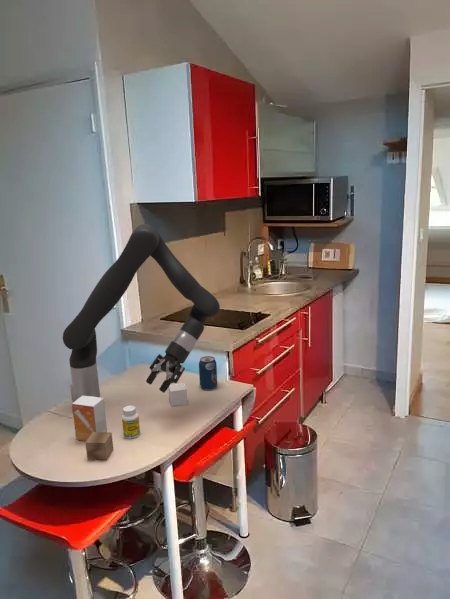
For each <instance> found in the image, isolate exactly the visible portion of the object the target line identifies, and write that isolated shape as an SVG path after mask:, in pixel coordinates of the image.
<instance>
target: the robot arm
mask: <svg viewBox="0 0 450 599" xmlns="http://www.w3.org/2000/svg"><path fill="white" fill-rule="evenodd" d="M150 257H151V258H152V259H153V260H154V261H155V262H156V263H157V264H158V265H159V267H160V268H161V270H163V272H164V274H165V276H166V277H167V279H168V280H169V281H170V283H171V284H172V285H173V287H174V288H175V289H176V290H177V291H178V292H179V294H180V295H182V296H183V297H184V299H186V300H188V301H190V302H192V303H193V305H192V307H191V309H190V311H189V313H188V316H187V319H186V320H185V322H184V323H183V324H182V326H181V327H180V328H179V331H178V332H177V333H176V334H175V335H174V336H173V339H172V340H171V341H170V343H169V344H168V346H167V347H166V349H165V351H164V353H165V355H164V356H163V355H162V354H160V353H159V354H158V355H157V356H156V357H155V358H154V360H153V361H152V363H151V364H150V366H149V369H150V373H149V375H148V376H147V378H146V380H145V382H146V383H147V384H149V385H152V384H153V382H154V381H155V380H156V378H157V376H158V375H159V374H161V373H165V375H166V377H165V379H164V381H163V382H162V383H161V385H160V387H159V388H158V389H159V391H160V392H162V393H166V391H167V390H169V388H168V387H169V386H170V385H172V384H178V382H179V380H180V378H181V377H182V374H183V373H184V372H185V369H186V368H185V367H184V366H183V365H182V364H184V363H185V362H186V360H187V359H188V357H189V356H190V354H191V352H192V350H193V349H194V348H195V346H196V343H197V341H198V340H199V339H200V337H201V335H202V333H203V332H204V330H205V326H204V324H205V322H206V321H207V319H208V318H212V317H215V316H217V314H219V312H220V309H221V308H220V307H221V306H220V302H219V301H218V299H217V298H216V297H215V296H214V294H212V293H211V292H210V291H208V290H207V289H206V288H205V287H203V286H202V285H201V284H200V282H198V281H197V279H196V278H195V277H194V276H193V274H191V273H190V271H189V270H188V269H187V268H186V267H185V266H184V265H183V264H182V263H181V261H180V260H178V258H177V257H176V256H175V255H174V254H173V252H172V251H171V249H170V248H169V247H168V245H167V244H166V242H165V241H164V239H163V238H162V236H161V234H160V233H159V231H158V230H157V229H156V228H155V227H154V226H153V225H150V224H149V223H148V224H147V223H144V224H140V225H138V226H136V227H135V229H134V230H133V231H132V233H131V235H130V236H129V238H128V240H127V243H126V244H125V247H124V248H123V250H122V252H121V253H120V255H119V257H118V258H117V259H116V261H115V262H113V264H112V265H111V266H109V268H108V269H107V270H106V271H105V272H104V274H103V275H102V276H101V278H100V279H99V280H98V282H97V283H96V285H95V287H94V288H93V290H92V291H91V293H90V295H89V296H88V298H87V299H86V301H85V303H84V304H83V307H82V308H81V310H80V311H79V313H77V315H76V316H75V317H74V318H73V320H72V321H71V322H70V323H69V324H68V325H67V326H66V327H65V329H64V331H63V332H62V342H63V344H64V346H65V347H66V348H67V349H70V350H71V353H70V357H69V360H68V361H69V367H70V368H69V369H70V376H71V384H70V386H69V387H70V394H71V395H70V396H71V402H72V403H73V402H75V401H76V400H77V399H79V398H80V397H81V396H93V397H100V398H101V392H100V390H101V389H100V381H99V380H100V379H99V373H98V363H97V355H98V345H97V333H96V328H97V326H98V325H99V324H100V322H101V321H102V320H103V319H104V318H105V317H106V316H107V315H108V314H109V313H110V312H111V311H112V310H113V309H114V307H115V306H116V305H117V304H118V303H119V302H120V301H121V299H122V297H123V296H124V295H125V293H126V291H127V290H128V288H129V286H130V285H131V283H132V281H133V278H135V275H136V274H137V271H138V270H139V269H140V268H141V267H142V266H143V264H144V263H145V262H146V260H147V259H149V258H150ZM72 403H71V404H72Z"/></svg>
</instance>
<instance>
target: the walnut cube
mask: <svg viewBox="0 0 450 599" xmlns="http://www.w3.org/2000/svg"><path fill="white" fill-rule="evenodd" d="M84 442H85V443H84V444H85V451H86V458H87V459H86V460H87V461H105V462H106V461H108V459H109V457H110V456H111V455H112V453H113V451H114V444H113V443H114V442H113V432H112V431H111V432H108V431H107V432H93V433H92V434H91V435H90V437H89V438H88V440H87V441H84Z"/></svg>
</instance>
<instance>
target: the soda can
mask: <svg viewBox="0 0 450 599" xmlns="http://www.w3.org/2000/svg"><path fill="white" fill-rule="evenodd" d="M217 367H218V366H217V361H216V358H215V357H214V356H210V355H206V356H201V358H200V359H199V362H198V371H199V372H198V374H199V375H198V376H199V386H200V388H201V389H202V390H205V391H210V390H211V391H212V390H214V389H216V388H217V386H218V373H217V372H218V370H217V369H218V368H217Z"/></svg>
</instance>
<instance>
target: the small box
mask: <svg viewBox="0 0 450 599" xmlns="http://www.w3.org/2000/svg"><path fill="white" fill-rule="evenodd" d="M105 406H106V405H105V398H104V397H101V396H100V397H93V396H81V397H80V398H79V399H77V400H76V401H75V402H73V403H71V407H72V408H71V409H72V414H73V415H72V416H73V424H74V431H75V432H74V433H75V440H77V441H84V442H86V441H87V440H88V438H89V437H90V435H91V434H92V433H93V432H108V428H107V426H108V425H107V424H108V423H107V416H106V407H105Z"/></svg>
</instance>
